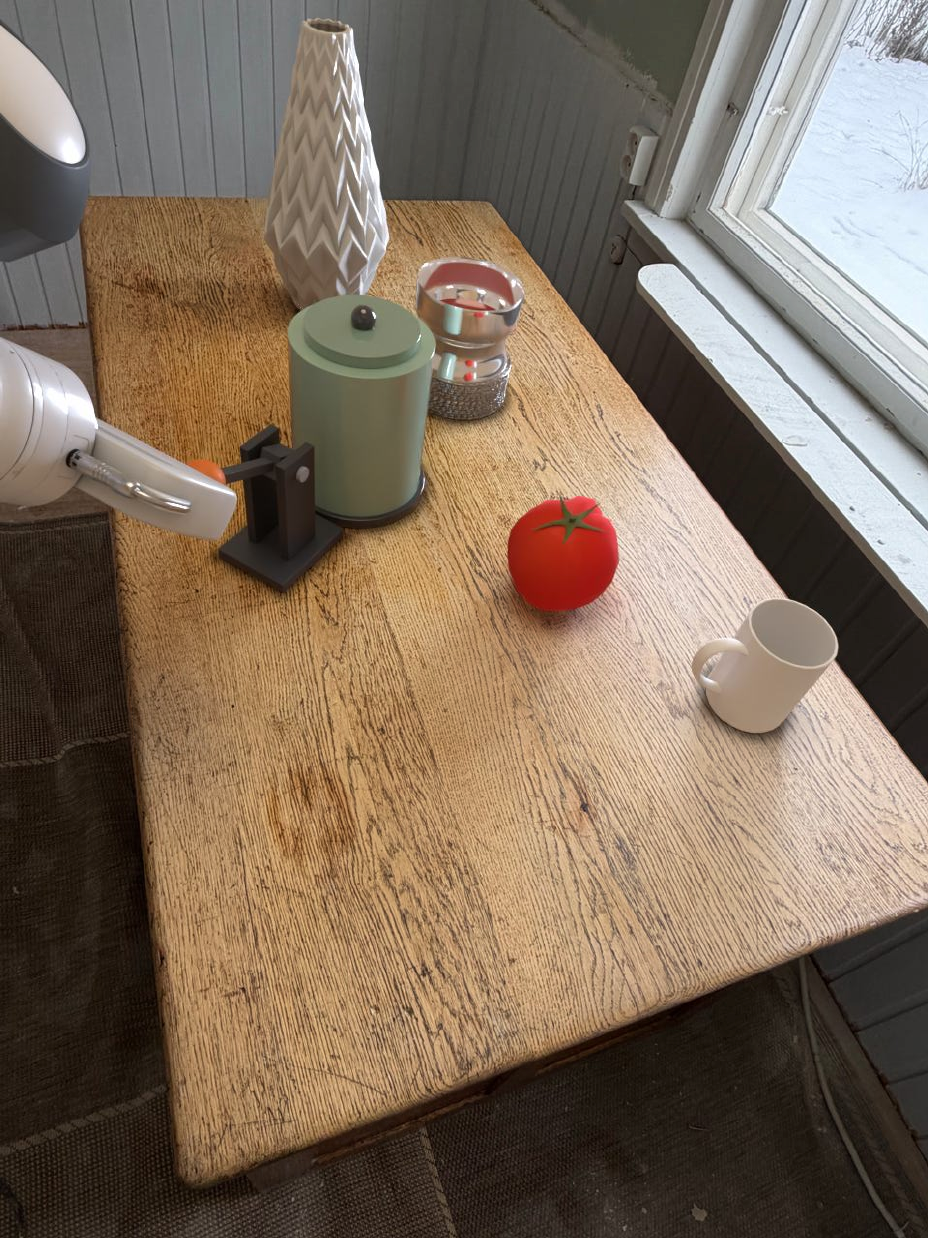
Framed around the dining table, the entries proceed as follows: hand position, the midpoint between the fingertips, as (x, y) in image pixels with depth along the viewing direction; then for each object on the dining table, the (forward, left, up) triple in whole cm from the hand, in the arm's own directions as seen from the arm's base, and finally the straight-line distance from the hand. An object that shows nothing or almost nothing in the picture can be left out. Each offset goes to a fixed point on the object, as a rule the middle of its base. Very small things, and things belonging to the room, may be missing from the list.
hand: (164, 472), depth 58 cm
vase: (+5, +60, -18) cm, 63 cm away
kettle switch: (+4, +7, -7) cm, 10 cm away
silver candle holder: (+23, +45, -18) cm, 54 cm away
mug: (+50, -4, -18) cm, 54 cm away
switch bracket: (+6, +11, -18) cm, 22 cm away
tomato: (+34, +9, -18) cm, 40 cm away
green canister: (+13, +23, -18) cm, 32 cm away
